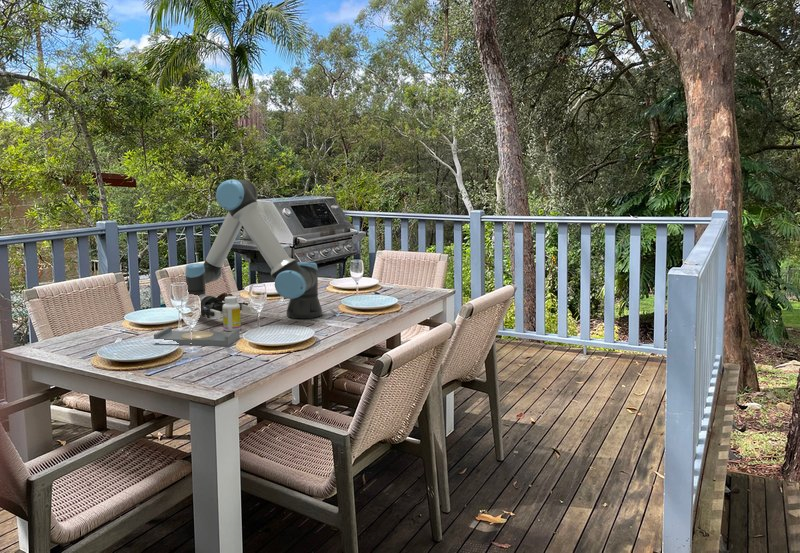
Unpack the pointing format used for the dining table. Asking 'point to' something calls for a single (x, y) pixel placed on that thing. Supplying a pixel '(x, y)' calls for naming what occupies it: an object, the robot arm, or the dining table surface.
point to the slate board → (199, 337)
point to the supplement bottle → (231, 314)
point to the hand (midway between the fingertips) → (236, 312)
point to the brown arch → (223, 296)
